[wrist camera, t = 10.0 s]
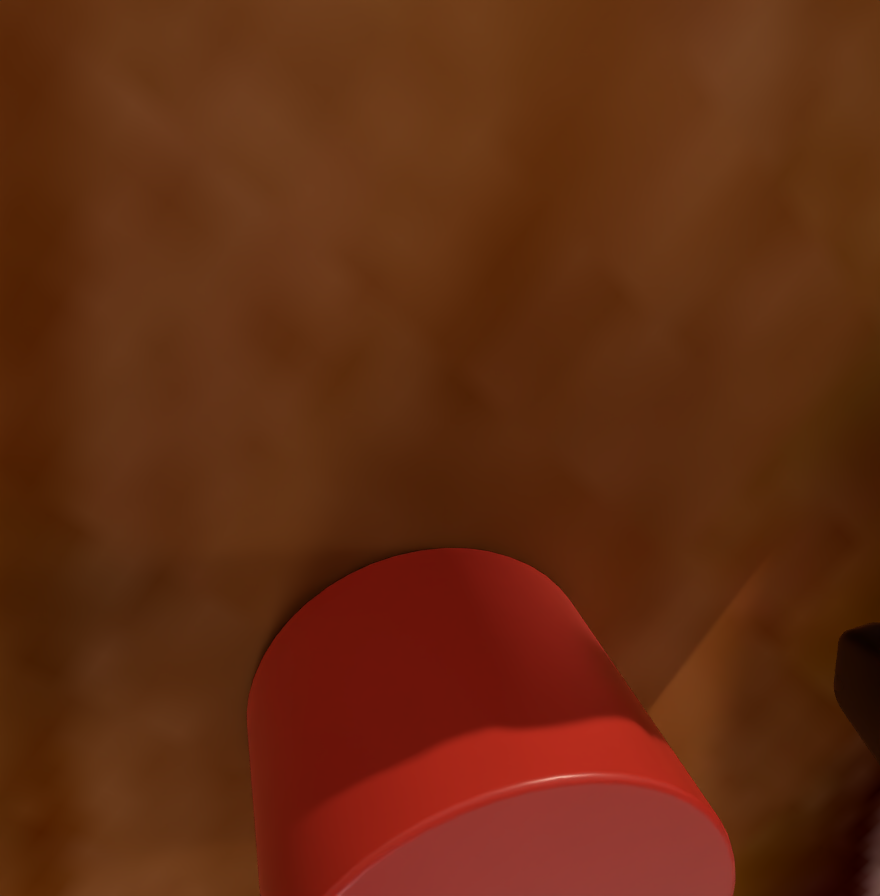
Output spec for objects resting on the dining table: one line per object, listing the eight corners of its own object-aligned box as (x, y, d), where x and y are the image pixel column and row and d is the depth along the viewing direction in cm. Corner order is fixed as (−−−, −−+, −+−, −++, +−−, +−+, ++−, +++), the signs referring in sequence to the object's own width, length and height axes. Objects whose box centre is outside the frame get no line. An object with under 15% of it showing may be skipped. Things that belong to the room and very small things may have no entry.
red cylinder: (574, 503, 9) (748, 711, 6) (592, 760, 11) (733, 1009, 8) (201, 606, 8) (205, 893, 5) (292, 860, 10) (329, 1171, 7)
